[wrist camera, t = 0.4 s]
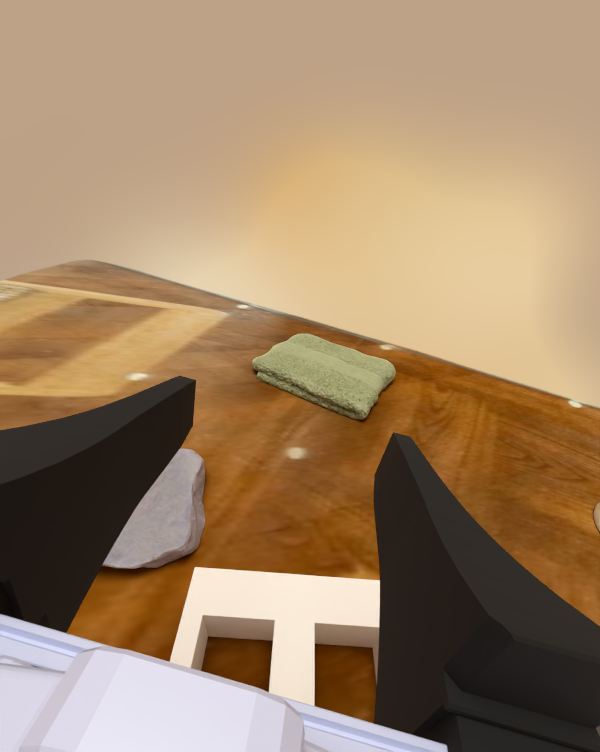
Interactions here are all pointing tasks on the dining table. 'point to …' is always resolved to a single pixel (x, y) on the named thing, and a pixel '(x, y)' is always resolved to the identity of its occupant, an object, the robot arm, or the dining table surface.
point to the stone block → (164, 517)
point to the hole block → (279, 620)
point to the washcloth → (326, 374)
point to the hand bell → (597, 516)
